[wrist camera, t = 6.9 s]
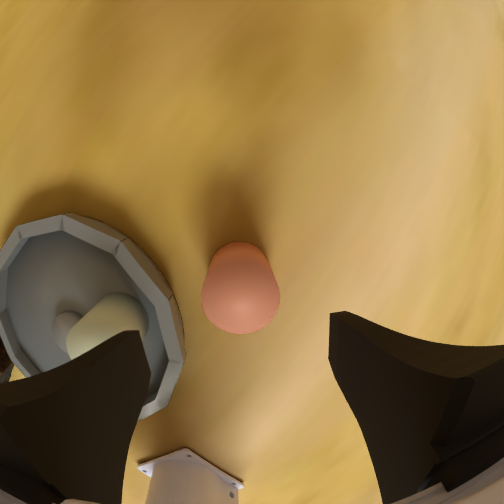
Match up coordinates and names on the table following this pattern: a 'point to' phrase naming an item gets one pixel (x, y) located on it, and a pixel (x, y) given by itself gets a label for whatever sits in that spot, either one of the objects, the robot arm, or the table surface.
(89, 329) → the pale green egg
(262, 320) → the bead
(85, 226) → the groove tray
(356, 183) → the table surface
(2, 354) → the yellow black patterned cube
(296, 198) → the table surface
